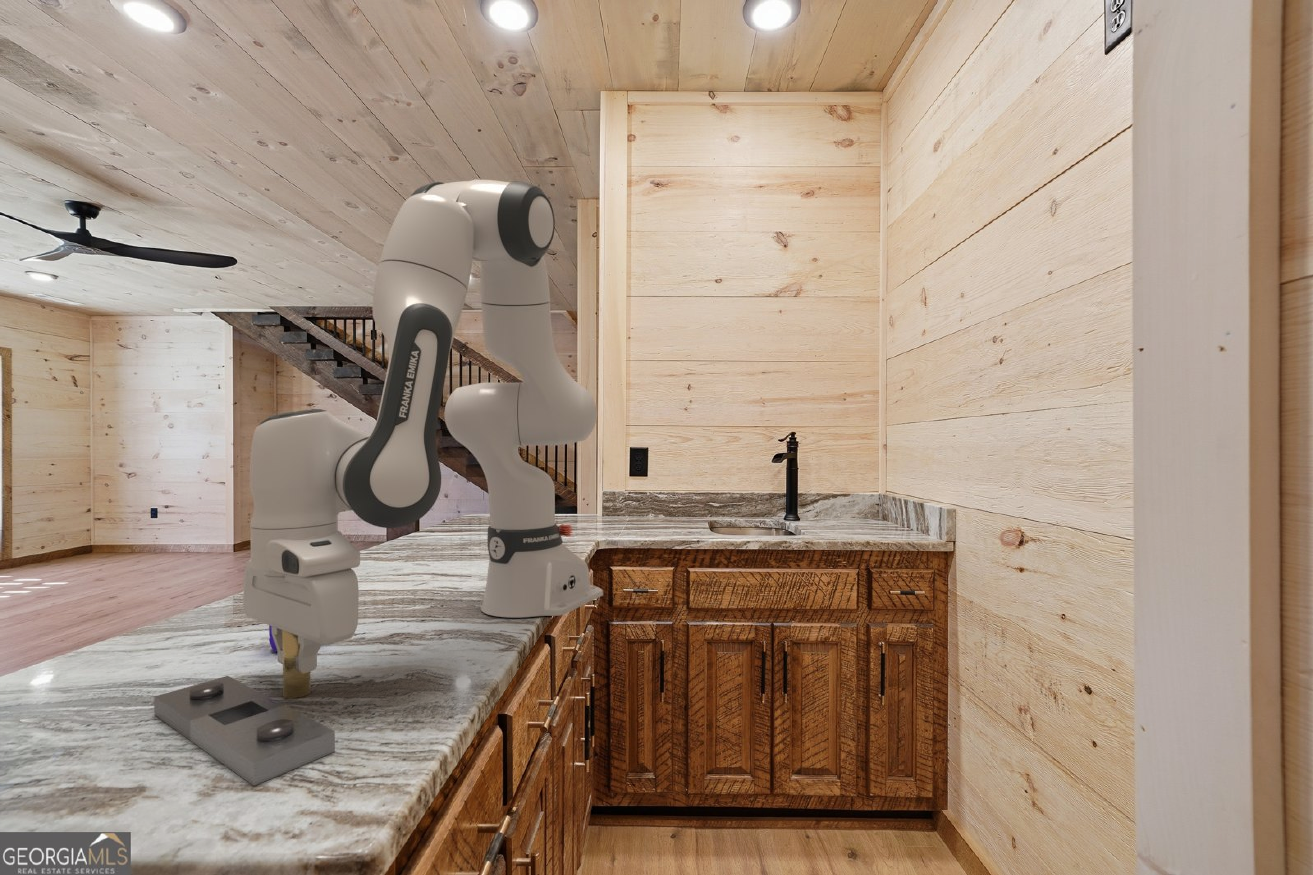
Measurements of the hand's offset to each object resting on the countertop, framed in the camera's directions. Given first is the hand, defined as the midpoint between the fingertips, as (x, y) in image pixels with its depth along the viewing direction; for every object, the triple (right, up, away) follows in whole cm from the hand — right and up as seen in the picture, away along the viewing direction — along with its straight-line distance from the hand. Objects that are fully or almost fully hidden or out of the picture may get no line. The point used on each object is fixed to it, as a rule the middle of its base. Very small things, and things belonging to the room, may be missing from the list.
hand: (297, 666), depth 73 cm
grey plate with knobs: (-1, -3, -9) cm, 10 cm away
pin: (0, -3, 0) cm, 3 cm away
